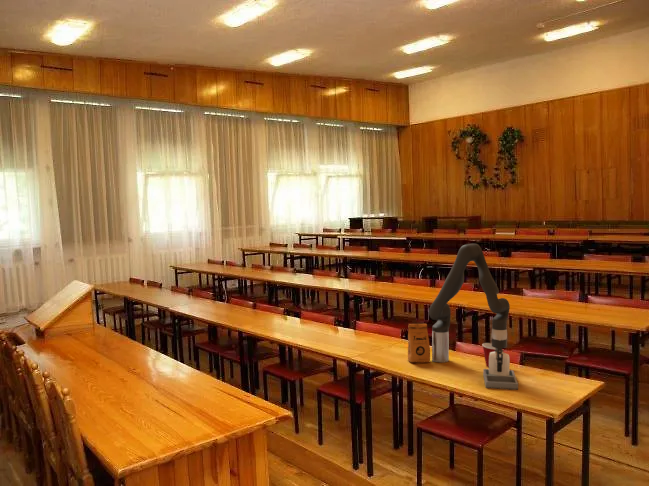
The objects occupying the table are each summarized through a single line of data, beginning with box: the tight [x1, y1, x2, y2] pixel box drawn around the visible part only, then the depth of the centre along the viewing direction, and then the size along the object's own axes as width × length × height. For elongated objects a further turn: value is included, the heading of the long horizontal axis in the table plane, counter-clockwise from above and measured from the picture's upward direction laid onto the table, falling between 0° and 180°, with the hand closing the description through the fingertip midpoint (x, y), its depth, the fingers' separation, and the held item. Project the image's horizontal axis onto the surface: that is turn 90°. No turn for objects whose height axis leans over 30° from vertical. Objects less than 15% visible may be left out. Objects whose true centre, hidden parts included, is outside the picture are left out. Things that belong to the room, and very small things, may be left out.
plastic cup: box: [481, 342, 495, 368], centre depth 300 cm, size 11×11×12 cm
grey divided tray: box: [482, 368, 519, 391], centre depth 276 cm, size 15×21×3 cm
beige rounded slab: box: [488, 351, 511, 376], centre depth 280 cm, size 10×4×12 cm, turn 61°
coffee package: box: [407, 323, 431, 364], centre depth 312 cm, size 10×12×22 cm
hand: (498, 369), depth 280 cm, fingers closed on beige rounded slab, 5 cm apart
